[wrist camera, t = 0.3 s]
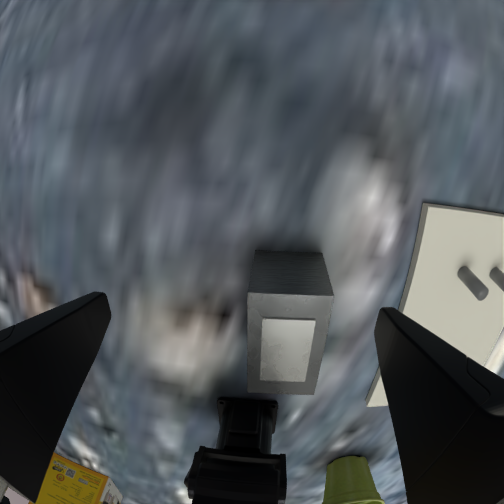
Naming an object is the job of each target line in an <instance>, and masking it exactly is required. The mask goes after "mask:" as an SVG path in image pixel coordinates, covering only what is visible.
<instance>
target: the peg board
mask: <svg viewBox="0 0 504 504" xmlns="http://www.w3.org/2000/svg"><path fill="white" fill-rule="evenodd" d="M398 311H400V312H401V313H403V314H404V315H406V316H408V317H409V318H411V319H412V320H414V321H415V322H417V323H418V324H420V325H421V326H423V327H424V328H426V329H428V330H429V331H431V332H432V333H434V334H435V335H437V336H438V337H440V338H441V339H443V340H444V341H446V342H447V343H449V344H450V345H452V346H453V347H455V348H456V349H458V350H459V351H461V352H462V353H464V354H465V355H467V357H470V358H471V359H473V360H474V361H476V362H477V363H479V364H480V365H482V366H484V364H485V362H486V360H487V358H488V357H489V355H490V353H491V351H492V349H493V347H494V345H495V343H496V341H497V339H498V337H499V335H500V333H501V331H502V329H503V327H504V214H499V213H493V212H486V211H480V210H473V209H466V208H459V207H452V206H444V205H436V204H428V203H423V205H422V211H421V217H420V222H419V227H418V232H417V237H416V242H415V247H414V251H413V256H412V260H411V264H410V268H409V272H408V276H407V280H406V284H405V288H404V291H403V295H402V299H401V302H400V306H399V309H398ZM365 401H366V405H367V407H374V406H385V405H388V402H387V398H386V394H385V390H384V386H383V382H382V378H381V374H380V368H378V371H377V373H376V376H375V378H374V381H373V383H372V386H371V388H370V391H369V393H368V395H367V398H366V400H365Z"/></svg>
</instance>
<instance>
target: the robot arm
mask: <svg viewBox="0 0 504 504" xmlns="http://www.w3.org/2000/svg"><path fill="white" fill-rule="evenodd" d="M110 320H111V311H110V307H109V303H108V299H107V296H106V294H105V293H103V292H92V293H90V294H87V295H85V296H82V297H80V298H77V299H75V300H73V301H70V302H68V303H65V304H63V305H60V306H58V307H56V308H53V309H51V310H48V311H46V312H44V313H41V314H39V315H36V316H34V317H32V318H29V319H27V320H25V321H22V322H20V323H18V324H16V325H13V326H11V327H8V328H6V329H3V330H1V331H0V504H10V501H9V499H8V498H7V497H5V496H4V494H5V492H6V490H7V488H8V487H9V488H10V489H12V490H13V491H15V492H17V493H18V494H19V495H21V496H23V497H24V498H26V499H27V500H29V501H31V502H32V503H34V504H35V503H36V501H37V499H38V495H39V492H40V489H41V486H42V483H43V481H44V478H45V475H46V472H47V469H48V467H49V464H50V461H51V458H52V456H53V452H54V450H55V448H56V445H57V443H58V440H59V438H60V435H61V433H62V430H63V428H64V426H65V423H66V421H67V418H68V416H69V414H70V412H71V409H72V407H73V405H74V402H75V400H76V398H77V396H78V394H79V391H80V389H81V387H82V385H83V383H84V381H85V379H86V376H87V374H88V372H89V370H90V368H91V366H92V364H93V362H94V360H95V358H96V356H97V354H98V351H99V349H100V346H101V343H102V341H103V338H104V335H105V333H106V330H107V328H108V325H109V323H110ZM374 336H375V342H376V348H377V354H378V361H379V368H380V374H381V378H382V382H383V386H384V390H385V394H386V398H387V402H388V406H389V410H390V414H391V418H392V423H393V427H394V432H395V436H396V441H397V446H398V450H399V455H400V461H401V466H402V471H403V477H404V483H405V489H406V491H407V492H406V496H407V503H408V504H504V379H503V378H501V377H500V376H498V375H496V374H495V373H493V372H491V371H490V370H488V369H486V368H485V367H483V366H482V365H480V364H479V363H477V362H476V361H474V360H473V359H471V358H470V357H467V355H465V354H464V353H462V352H461V351H459V350H458V349H456V348H455V347H453V346H452V345H450V344H449V343H447V342H446V341H444V340H443V339H441V338H440V337H438V336H437V335H435V334H434V333H432V332H431V331H429V330H428V329H426V328H424V327H423V326H421V325H420V324H418V323H417V322H415V321H414V320H412V319H411V318H409V317H408V316H406V315H404V314H403V313H401V312H400V311H398V310H397V309H395V308H393V307H382V308H381V309H380V311H379V314H378V318H377V322H376V326H375V330H374ZM217 406H218V414H219V422H220V429H219V434H218V439H217V445H216V449H214V448H207V447H205V446H200V448H199V451H197V452H195V455H194V460H193V463H192V466H191V468H190V470H189V472H188V474H187V476H186V477H185V480H184V484H185V485H186V487H187V488H188V497H189V499H193V500H192V504H285V499H286V489H287V476H286V454H280V455H278V454H271V440H272V434H273V433H274V432H275V425H276V417H277V409H278V403H277V402H275V401H261V400H246V399H233V398H223V397H220V398H218V400H217Z"/></svg>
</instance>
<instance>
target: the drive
mask: <svg viewBox="0 0 504 504" xmlns="http://www.w3.org/2000/svg"><path fill="white" fill-rule="evenodd" d="M333 300H334V294H333V290H332V286H331V283H330V279H329V275H328V272H327V268H326V265H325V261H324V258H323V254H322V253H308V252H285V251H263V250H255V254H254V259H253V265H252V271H251V276H250V282H249V287H248V314H247V392H251V393H268V394H298V395H314V392H315V387H316V383H317V379H318V375H319V370H320V366H321V361H322V357H323V352H324V347H325V342H326V337H327V332H328V327H329V322H330V316H331V311H332V305H333Z"/></svg>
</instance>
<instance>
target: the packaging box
mask: <svg viewBox="0 0 504 504" xmlns="http://www.w3.org/2000/svg"><path fill="white" fill-rule="evenodd" d="M122 497H123V496H122V494H121V493H120V492H119V490H118V489H117V487H116V486H115V484H114V483H113V481H112V480H111V478H110V477H107V476H105V475H102V474H100V473H97V472H95V471H92V470H90V469H88V468H85V467H83V466H81V465H79V464H76V463H74V462H72V461H70V460H68V459H66V458H64V457H62V456H60V455H58V454H56V453H54V452H53V456H52V458H51V461H50V464H49V467H48V469H47V472H46V475H45V478H44V481H43V483H42V486H41V489H40V492H39V495H38V499H37V501H36V503H35V504H120V503H121V500H122ZM28 504H34V503H32V502H31V501H29V503H28Z"/></svg>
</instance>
